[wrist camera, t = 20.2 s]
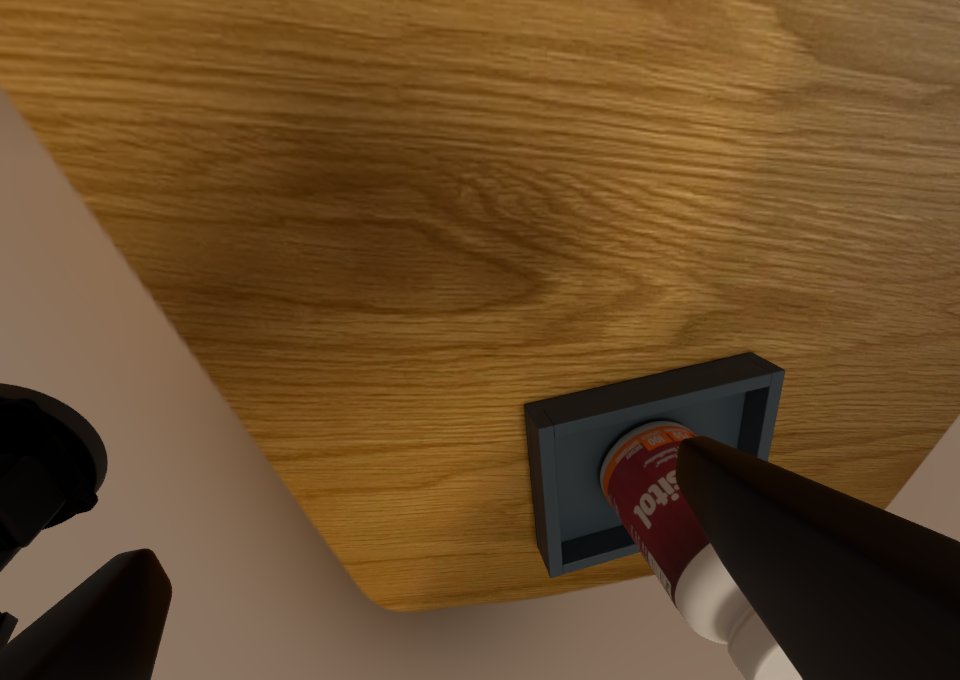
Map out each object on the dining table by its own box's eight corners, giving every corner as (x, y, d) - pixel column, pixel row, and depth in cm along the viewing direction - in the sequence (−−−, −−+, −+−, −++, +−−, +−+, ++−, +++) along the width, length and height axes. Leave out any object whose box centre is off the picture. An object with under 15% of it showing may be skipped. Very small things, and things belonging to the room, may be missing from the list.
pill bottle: (675, 396, 24) (882, 569, 14) (705, 466, 27) (897, 651, 17) (578, 457, 24) (717, 668, 15) (618, 520, 27) (758, 734, 17)
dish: (537, 546, 28) (550, 578, 26) (523, 404, 23) (538, 429, 21) (730, 492, 30) (757, 518, 28) (752, 351, 25) (785, 369, 23)
